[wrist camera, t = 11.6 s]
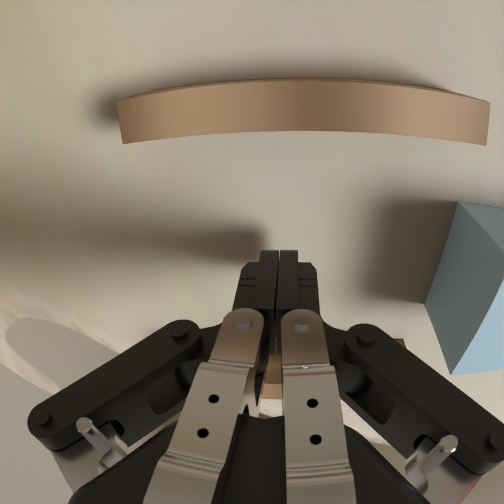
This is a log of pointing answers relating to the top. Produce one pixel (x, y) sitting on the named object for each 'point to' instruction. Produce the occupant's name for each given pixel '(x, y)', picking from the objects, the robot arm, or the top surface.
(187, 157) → the top surface
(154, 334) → the robot arm
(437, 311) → the block
